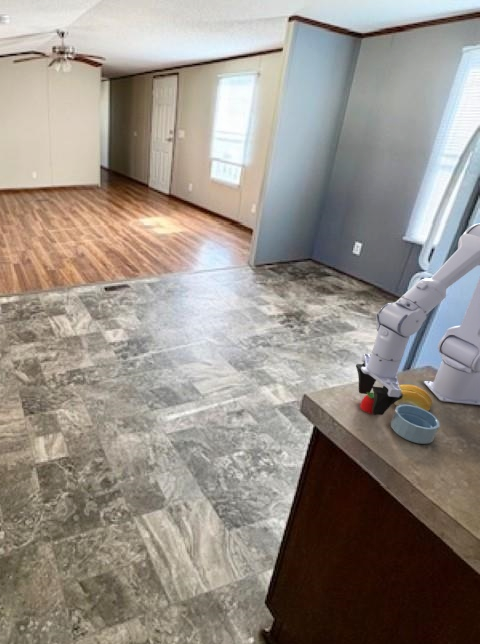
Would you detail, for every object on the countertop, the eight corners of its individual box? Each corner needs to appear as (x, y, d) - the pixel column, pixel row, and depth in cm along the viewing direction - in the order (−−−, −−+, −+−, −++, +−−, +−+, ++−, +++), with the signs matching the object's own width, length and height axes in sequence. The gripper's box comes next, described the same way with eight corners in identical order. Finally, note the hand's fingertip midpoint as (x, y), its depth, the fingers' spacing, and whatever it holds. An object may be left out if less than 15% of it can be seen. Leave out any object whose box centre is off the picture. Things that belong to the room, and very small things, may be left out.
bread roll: (431, 401, 104) (437, 388, 103) (426, 419, 98) (431, 405, 97) (392, 387, 110) (397, 374, 108) (385, 403, 104) (390, 389, 102)
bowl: (420, 422, 97) (426, 406, 96) (440, 447, 90) (448, 431, 88) (383, 418, 99) (388, 402, 97) (400, 443, 91) (406, 426, 89)
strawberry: (372, 405, 103) (377, 391, 101) (379, 414, 100) (384, 400, 98) (358, 403, 103) (362, 390, 102) (363, 412, 100) (368, 398, 99)
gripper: (354, 336, 103) (341, 383, 108) (382, 370, 89) (365, 421, 95) (386, 339, 102) (370, 386, 107) (418, 374, 88) (399, 425, 94)
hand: (370, 402), depth 101 cm, fingers open, 7 cm apart
